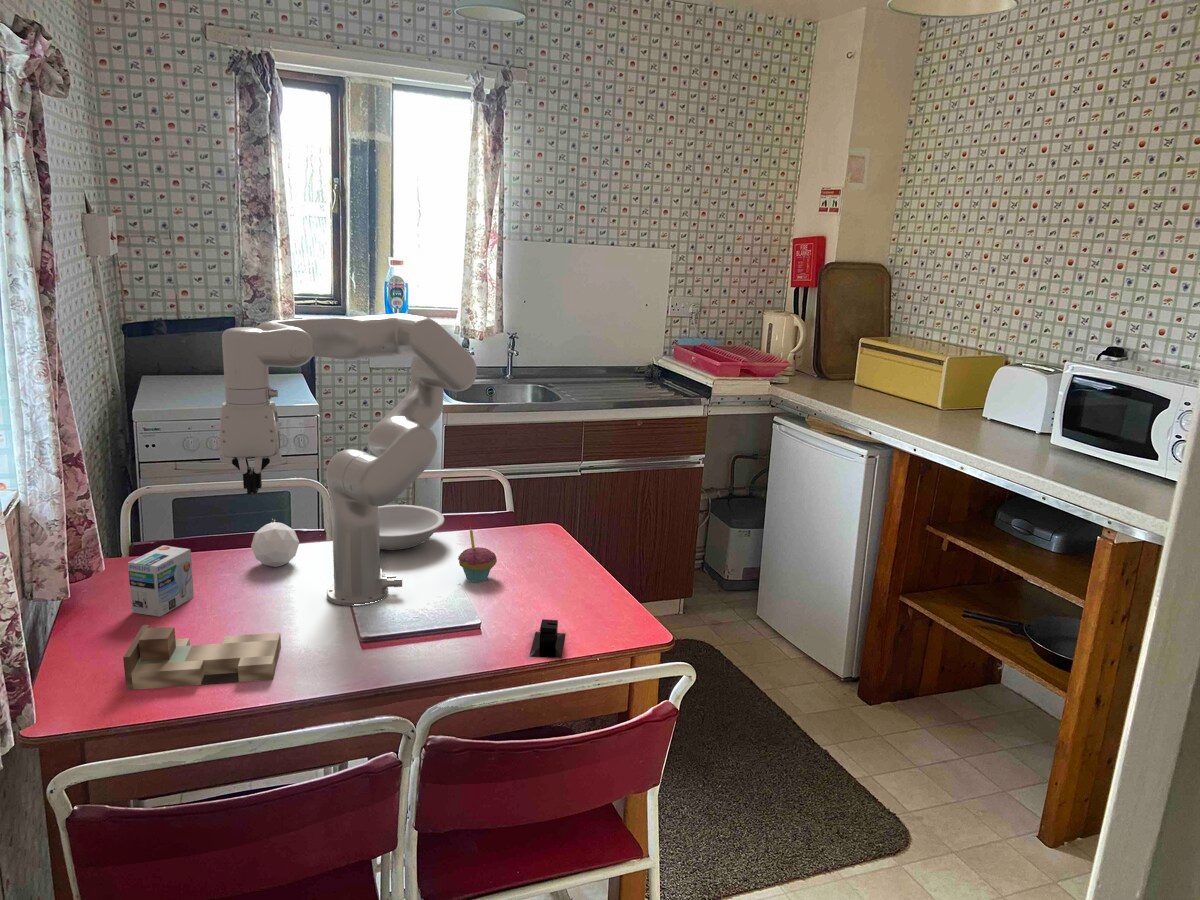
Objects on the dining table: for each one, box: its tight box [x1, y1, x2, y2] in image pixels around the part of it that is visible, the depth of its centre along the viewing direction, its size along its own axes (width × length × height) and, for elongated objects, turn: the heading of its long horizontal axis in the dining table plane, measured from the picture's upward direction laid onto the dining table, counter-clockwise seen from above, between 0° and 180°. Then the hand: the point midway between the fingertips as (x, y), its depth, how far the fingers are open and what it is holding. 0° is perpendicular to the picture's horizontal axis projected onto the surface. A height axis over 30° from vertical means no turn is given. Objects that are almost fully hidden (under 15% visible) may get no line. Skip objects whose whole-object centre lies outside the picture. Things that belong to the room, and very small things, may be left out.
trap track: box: [122, 624, 282, 691], centre depth 152 cm, size 23×12×6 cm, turn 103°
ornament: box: [250, 518, 300, 568], centre depth 200 cm, size 10×10×15 cm
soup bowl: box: [378, 504, 445, 551], centre depth 215 cm, size 24×24×7 cm
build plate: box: [528, 618, 567, 659], centre depth 167 cm, size 13×8×5 cm, turn 178°
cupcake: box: [457, 526, 498, 583], centre depth 196 cm, size 9×8×12 cm
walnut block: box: [139, 626, 176, 661], centre depth 150 cm, size 4×4×4 cm
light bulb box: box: [127, 545, 195, 617], centre depth 175 cm, size 11×7×11 cm, turn 168°
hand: (253, 491), depth 163 cm, fingers closed
